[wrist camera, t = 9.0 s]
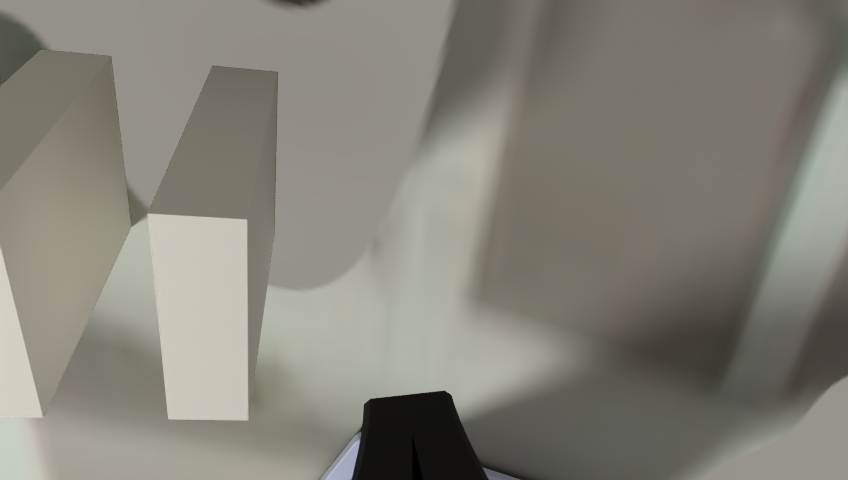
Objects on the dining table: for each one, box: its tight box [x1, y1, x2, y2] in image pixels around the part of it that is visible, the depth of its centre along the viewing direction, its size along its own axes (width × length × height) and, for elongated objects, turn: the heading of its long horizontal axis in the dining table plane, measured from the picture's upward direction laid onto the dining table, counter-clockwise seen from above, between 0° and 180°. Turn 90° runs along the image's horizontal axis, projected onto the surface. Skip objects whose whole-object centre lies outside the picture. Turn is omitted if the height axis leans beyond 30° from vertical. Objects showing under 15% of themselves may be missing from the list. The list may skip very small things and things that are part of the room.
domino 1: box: [0, 50, 131, 418], centre depth 15 cm, size 2×5×7 cm, turn 171°
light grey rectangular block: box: [148, 66, 278, 420], centre depth 15 cm, size 2×5×7 cm, turn 172°
